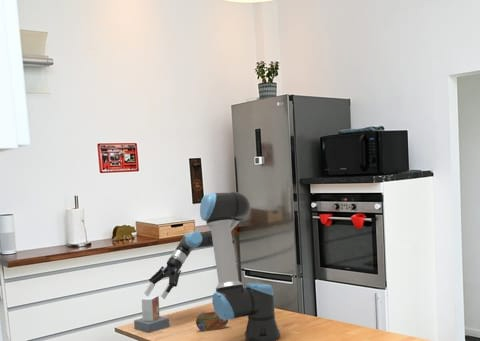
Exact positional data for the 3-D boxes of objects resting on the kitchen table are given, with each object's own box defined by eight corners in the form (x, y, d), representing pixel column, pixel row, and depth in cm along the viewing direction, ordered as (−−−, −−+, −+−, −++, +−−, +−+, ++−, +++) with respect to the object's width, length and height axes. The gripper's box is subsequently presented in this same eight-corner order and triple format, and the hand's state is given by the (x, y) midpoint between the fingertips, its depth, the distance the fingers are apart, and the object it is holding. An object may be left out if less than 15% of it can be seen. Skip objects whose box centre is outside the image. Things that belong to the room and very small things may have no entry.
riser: (169, 326, 233) (169, 318, 233) (148, 332, 224) (148, 324, 225) (154, 322, 241) (154, 314, 242) (134, 328, 233) (134, 320, 233)
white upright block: (153, 321, 229) (152, 299, 229) (142, 321, 230) (141, 299, 231) (159, 317, 237) (158, 295, 237) (149, 317, 238) (148, 295, 238)
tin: (197, 332, 221) (196, 313, 222) (195, 330, 224) (194, 312, 225) (228, 328, 225) (227, 310, 226) (227, 326, 228) (226, 308, 229)
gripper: (196, 266, 240) (174, 303, 229) (166, 263, 257) (144, 297, 246) (187, 257, 237) (165, 294, 225) (157, 255, 254) (134, 289, 242)
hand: (154, 296), depth 235 cm, fingers open, 13 cm apart
